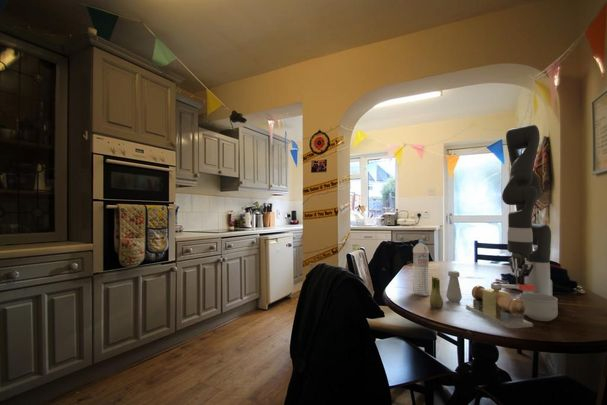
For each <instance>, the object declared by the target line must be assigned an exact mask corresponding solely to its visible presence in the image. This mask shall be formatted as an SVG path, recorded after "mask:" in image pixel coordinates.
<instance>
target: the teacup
mask: <svg viewBox="0 0 607 405" xmlns="http://www.w3.org/2000/svg"><path fill="white" fill-rule="evenodd" d="M519 299H520V300H522V301H523V302H524V303H525V312H524V313H523V315H525V316H526V317H528V318H529V319H531V320H534V321H539V322H550V321H552V320H554V319H556V318H557V317H558V314H559V310H558V308H559V307H558V306H559V305H558V301H559V300H558V298H557V297H556V296H553V295H552V296H550V295H546V294H540V293H533V292H528V293H523V292H522V293H519Z"/></svg>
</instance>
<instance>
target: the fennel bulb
mask: <svg viewBox="0 0 607 405" xmlns="http://www.w3.org/2000/svg"><path fill="white" fill-rule="evenodd" d="M440 284H441V283H440V278H439V277H436V276H432V277H431V291H430V296H429V306H430V307H431V308H432V309H437V310H440V309H442V308H443V306H444V300H443V298H442V295H441V290H440V289H441V288H440V287H441V286H440Z"/></svg>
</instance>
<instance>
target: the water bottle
mask: <svg viewBox="0 0 607 405" xmlns="http://www.w3.org/2000/svg"><path fill="white" fill-rule="evenodd" d="M423 242H424V239H418V243H416V244H415V246H414V247H412V253H413V254H412V257H413V258H412V273H413V274H412V290H413V291H412V293H413V294H414V295H415V296H419V297H428V296H429V294H430V279H429V278H430V266H429V262H430V261H429V260H430V258H429V257H430V256H429V253H430V250H429V248H428V246H427V245H426V244H424V243H423Z"/></svg>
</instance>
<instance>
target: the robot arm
mask: <svg viewBox="0 0 607 405" xmlns="http://www.w3.org/2000/svg"><path fill="white" fill-rule="evenodd" d="M540 135H541V134H540V130H539V127H538V126H537V125H536V124H530V125H525V126H520V127H514V128H510V129H508V130H507V131H506V134H505V140H506V147H507V153H508V157H509V163H510V173H509V180H508V182H507V183H506V185H505V187H504V189H503V191H502V194H501V195H502V196H501V200H502V202H503V203H504V204H506V205H508V206H515V209H516V210H514V211H511V212H509V213H508V214H507V222H508V223H507V224H508V225H507V227H508V228H507V251H508V252H509V253H511V257H510V258H508V263H509V266H510V270H511V272H512V273H513V274H514V276H515V285H517V283H524V284H533V285H535V291H524V290H522V293H528V292H533V293H540V294H546V295H550V296H553V280H552V279H551V264H550V262H551V261H550V260H551V246H552V230H551V227H550V226H549V225H547V224H546V223H545V224H543V223H533V211H534V208H535V205H536V203H537V202H538V200H539V198H540V196H541V195H542V194H541V192H542V189H541V182H540V181H541V180H540V177H539V176H538V174H537V173H536V172H535V171H534V163H535V159H536V156H537V153H538V149H539V145H540V140H541V138H540V137H541V136H540ZM523 149H524V150H523ZM519 150H523V151H522V153H521V154H520V153H519ZM534 246H536V249H535V250H534V248H533V247H534Z"/></svg>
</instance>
